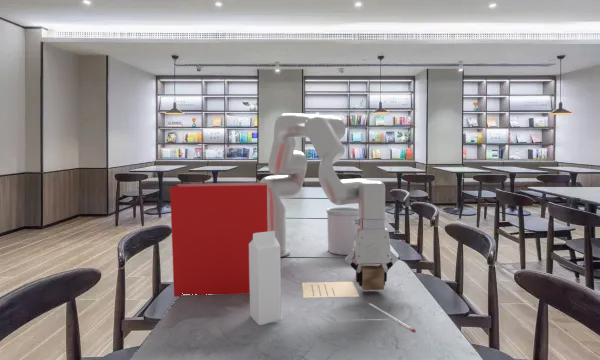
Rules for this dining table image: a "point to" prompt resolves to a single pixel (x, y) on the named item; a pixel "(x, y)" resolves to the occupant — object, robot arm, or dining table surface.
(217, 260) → the book
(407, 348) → the dining table surface
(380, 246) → the robot arm
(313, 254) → the dining table surface
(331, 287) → the letter
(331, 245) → the utensil holder
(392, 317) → the pencil
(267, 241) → the milk
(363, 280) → the block
